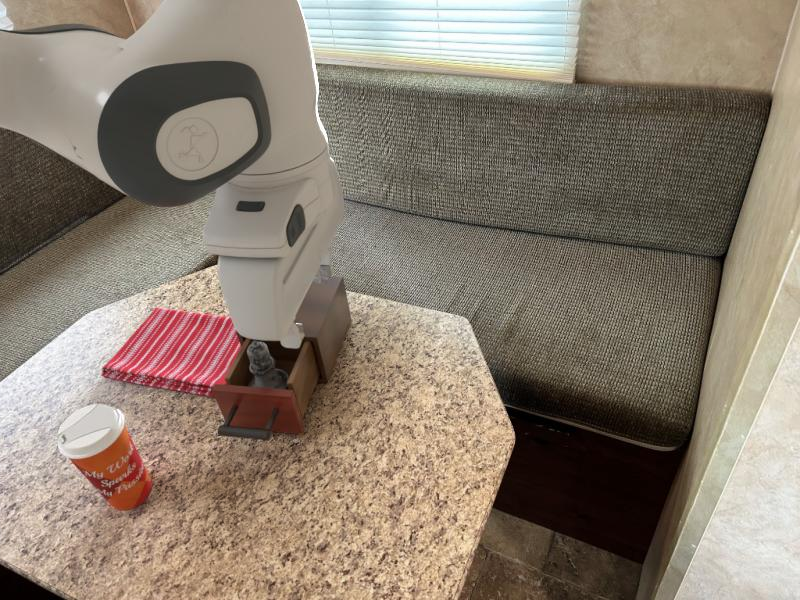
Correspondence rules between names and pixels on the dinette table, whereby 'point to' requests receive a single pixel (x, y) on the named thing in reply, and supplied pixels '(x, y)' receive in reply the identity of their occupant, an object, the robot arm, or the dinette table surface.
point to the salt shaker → (265, 368)
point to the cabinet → (324, 322)
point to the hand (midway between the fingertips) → (309, 309)
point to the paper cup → (105, 455)
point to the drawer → (267, 393)
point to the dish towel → (177, 352)
